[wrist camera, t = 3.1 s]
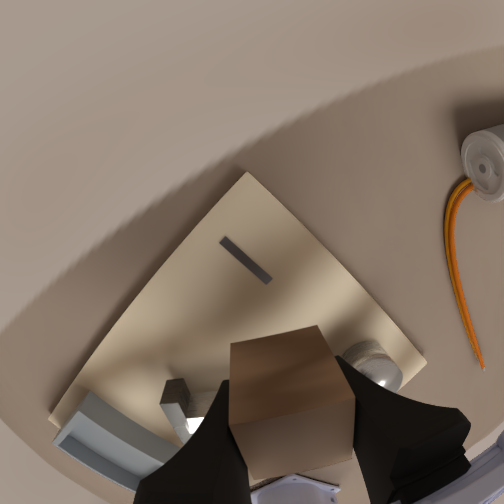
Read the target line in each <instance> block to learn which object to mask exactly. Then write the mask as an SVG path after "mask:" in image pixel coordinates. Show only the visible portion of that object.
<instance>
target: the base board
mask: <svg viewBox="0 0 504 504" xmlns="http://www.w3.org/2000/svg"><path fill="white" fill-rule="evenodd" d="M314 325H318V327H319V329H320V331H321V333H322V335H323V336H324V338H325V340H326V342H327V344H328V346H329V348H330V350H331V351H332V353H333V355H334V356H337V355H339V356H342V355H343V354H344V353H345V351H346V350H348V349H349V348H350V347H352V346H353V345H355V344H357V343H359V342H363V341H375V342H377V343H379V344H380V345H381V346H382V347H383V348H384V350H385V351H386V352H387V353H388V355H389V356H390V357H391V358H392V360H393V361H394V362H395V363H396V365H397V366H398V367H399V368H400V370H401V371H402V374H403V380H402V384H401V386H400V388H399V389H401V388H402V387H403V386H404V385H405V384H406V383H407V382H408V381H409V380H410V379H411V378H412V377H414V376H415V375H416V374H417V373H418V372H419V371H420V370H421V369H422V368H423V367H424V366H425V365H426V364H427V362H426V360H425V359H424V358H423V357H422V355H421V354H420V353H419V352H418V351H417V349H416V348H415V347H414V346H413V344H412V343H411V342H410V341H409V340H408V339H407V337H406V336H405V335H404V334H403V333H402V331H401V330H400V329H399V328H398V327H397V326H396V324H395V323H394V322H393V321H392V320H391V319H390V318H389V316H388V315H387V314H386V313H385V312H384V311H383V310H382V308H381V307H380V306H379V305H378V304H377V303H376V302H375V301H374V299H373V298H372V297H371V296H370V295H369V294H368V293H367V292H366V291H365V289H364V288H363V287H362V286H361V285H360V284H359V283H358V282H357V281H356V280H355V279H354V278H353V276H352V275H351V274H350V273H349V272H348V271H347V270H346V269H345V268H344V267H343V266H342V265H341V264H340V263H339V261H338V260H337V259H336V258H335V257H334V256H333V255H332V254H331V253H330V252H329V251H328V250H327V249H326V248H325V247H324V246H323V245H322V244H321V243H320V242H319V241H318V240H317V239H316V238H315V237H314V236H313V235H312V234H311V233H310V232H309V231H308V230H307V229H306V228H305V227H304V226H303V225H302V223H300V222H299V221H298V220H297V219H296V218H295V217H294V216H293V215H292V214H291V213H290V212H289V211H288V210H287V209H286V208H285V207H284V206H283V205H282V204H281V203H280V202H279V201H278V200H277V199H276V198H275V197H274V196H273V195H272V194H271V193H270V192H269V191H268V190H267V189H266V188H265V187H263V186H262V185H261V184H260V183H259V182H258V181H257V180H256V179H255V178H254V177H253V176H252V175H251V174H250V173H249V172H246V173H245V174H244V175H243V176H242V177H241V178H240V179H239V180H238V181H237V182H236V183H235V184H234V185H233V186H232V188H231V189H230V190H229V191H228V192H227V193H226V194H225V195H224V196H223V197H222V198H221V199H220V200H219V201H218V203H217V204H216V205H215V206H214V207H213V208H212V209H211V210H210V211H209V212H208V214H207V215H206V216H205V217H204V218H203V219H202V220H201V221H200V222H199V224H198V225H197V226H196V227H195V228H194V229H193V230H192V231H191V233H190V234H189V235H188V236H187V237H186V238H185V239H184V241H183V242H182V243H181V244H180V245H179V246H178V247H177V249H176V250H175V251H174V252H173V253H172V254H171V256H170V257H169V258H168V259H167V260H166V262H165V263H164V264H163V265H162V266H161V267H160V269H159V270H158V271H157V272H156V273H155V275H154V276H153V277H152V278H151V279H150V281H149V282H148V283H147V284H146V286H145V287H144V288H143V289H142V291H141V292H140V293H139V294H138V295H137V297H136V298H135V299H134V300H133V302H132V303H131V304H130V306H129V307H128V308H127V309H126V311H125V312H124V313H123V314H122V316H121V317H120V318H119V320H118V321H117V322H116V323H115V325H114V326H113V327H112V329H111V330H110V331H109V333H108V334H107V335H106V337H105V338H104V339H103V341H102V342H101V343H100V345H99V346H98V347H97V349H96V350H95V351H94V353H93V354H92V356H91V357H90V358H89V360H88V361H87V362H86V364H85V365H84V367H83V368H82V370H81V371H80V372H79V374H78V375H77V377H76V378H75V379H74V381H73V382H72V384H71V385H70V387H69V388H68V390H67V391H66V393H65V394H64V396H63V397H62V399H61V400H60V402H59V403H58V405H57V406H56V408H55V409H54V411H53V412H52V414H51V415H50V417H49V418H48V420H49V421H51V422H52V423H53V424H55V425H56V426H57V427H58V428H61V426H62V425H63V424H64V422H65V421H66V420H67V419H68V417H69V416H70V415H71V414H72V412H73V411H74V410H75V409H76V407H77V406H78V405H79V404H80V402H81V401H82V400H83V399H84V397H85V396H86V395H87V394H88V393H89V391H92V392H93V393H94V394H96V395H97V396H98V397H100V398H101V399H102V400H104V401H105V402H106V403H108V404H109V405H111V406H112V407H113V408H115V409H116V410H118V411H119V412H121V413H122V414H124V415H125V416H127V417H128V418H130V419H131V420H133V421H134V422H136V423H138V424H139V425H141V426H142V427H144V428H146V429H147V430H149V431H151V432H152V433H154V434H156V435H158V436H159V437H161V438H163V439H165V440H166V441H168V442H170V443H172V444H174V445H176V446H178V447H180V448H182V447H183V446H184V445H183V443H182V442H181V440H180V439H179V437H178V435H177V434H176V432H175V431H174V429H173V427H172V426H171V424H170V422H169V420H168V419H167V417H166V415H165V414H164V412H163V410H162V408H161V406H160V405H159V403H160V400H161V397H162V393H163V390H164V387H165V383H166V380H170V379H180V378H184V380H185V382H186V385H187V387H188V389H189V391H190V394H194V393H203V392H211V391H218V390H219V387H220V385H221V382H222V381H223V380H228V379H229V377H230V343H234V342H240V341H245V340H250V339H255V338H260V337H265V336H270V335H275V334H279V333H284V332H288V331H293V330H297V329H302V328H306V327H310V326H314ZM248 476H249V485H250V486H252V485H254V484H257V483H259V482H261V481H263V480H265V479H259V480H254V479H253V477H252V475H251V473H250V471H249V469H248ZM266 479H267V478H266Z"/></svg>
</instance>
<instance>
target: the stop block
mask: <svg viewBox="0 0 504 504" xmlns="http://www.w3.org/2000/svg"><path fill="white" fill-rule="evenodd" d="M354 420H355V395H354V393H353V391H352V389H351V387H350V386H349V384H348V382H347V380H346V378H345V376H344V374H343V372H342V370H341V368H340V366H339V365H338V363H337V361H336V359H335V357H334V355H333V353H332V351H331V350H330V348H329V346H328V344H327V342H326V340H325V338H324V336H323V335H322V333H321V331H320V329H319V327H318V325H314V326H310V327H306V328H302V329H297V330H293V331H288V332H284V333H279V334H275V335H270V336H265V337H260V338H255V339H250V340H245V341H240V342H234V343H230V377H229V427H230V429H231V432H232V434H233V436H234V438H235V441H236V443H237V445H238V447H239V450H240V452H241V454H242V456H243V458H244V461H245V463H246V465H247V467H248V469H249V471H250V473H251V475H252V477H253V479H254V480H259V479H266V478H273V477H279V476H285V475H290V474H295V473H300V472H304V471H309V470H313V469H317V468H321V467H325V466H329V465H332V464H336V463H339V462H343V461H346V460H349V459H352V449H353V437H354Z"/></svg>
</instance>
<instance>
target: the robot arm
mask: <svg viewBox="0 0 504 504" xmlns="http://www.w3.org/2000/svg"><path fill="white" fill-rule="evenodd" d="M334 357H335V359H336V361H337V363H338V365H339V366H340V368H341V370H342V372H343V374H344V376H345V378H346V380H347V382H348V384H349V386H350V387H351V389H352V391H353V393H354V395H355V420H354V437H353V448H354V451H355V453H356V456H357V459H358V462H359V465H360V468H361V471H362V475H363V478H364V481H365V484H366V488H367V491H368V495H369V499H370V502H371V504H490V503H491V502H492V501H494V500H495V499H496V498H498V497H499V496H500V495H501V494H502V493H503V492H504V431H503V432H502V433H501V434H500V436H499V437H498V439H497V441H496V443H494V444H493V445H492V446H490V447H489V448H488V449H486V450H485V451H484V452H482V453H481V454H480V455H478V456H477V457H475V458H474V459H472V460H471V461H470V462H469V461H468V460H467V458H466V457H465V455H464V454H465V452H466V451H465V449H464V447H463V446H462V445H463V443H464V441H465V439H466V437H467V435H468V433H469V431H470V428H471V423H470V422H469V420H468V419H467V418H466V417H465V415H464V414H463V413H462V412H461V411H460V410H459V409H458V408H449V407H440V406H435V405H430V404H425V403H422V402H418V401H415V400H412V399H409V398H406V397H403V396H401V395H398V394H396V393H394V392H392V391H390V390H388V389H386V388H384V387H382V386H381V385H379V384H377V383H375V382H374V381H372V380H371V379H369V378H368V377H366V376H365V375H363V374H362V373H361V372H359V371H358V370H357V369H355V368H354V367H353V366H351V365H350V364H349V363H348V362H347V361H345V360H344V359H343V358H342V357H341V356H339V355H337V356H334ZM340 490H341V488H340V487H338V486H334V485H330V484H326V483H322V482H319V481H315V480H312V479H308V478H305V477H302V476H299V475H296V474H290V475H287V476H285V477H283V478H281V479H279V480H277V481H275V482H273V483H271V484H269V485H266V486H264V487H262V488H260V489H258V490H255V491H253V492H251V493H250V485H249V476H248V467H247V465H246V463H245V461H244V458H243V456H242V454H241V452H240V450H239V447H238V445H237V443H236V441H235V438H234V436H233V434H232V432H231V429H230V427H229V379H228V380H223V381H222V382H221V385H220V387H219V390H218V392H217V394H216V396H215V398H214V400H213V402H212V404H211V406H210V408H209V410H208V412H207V414H206V415H205V417H204V418H203V420H202V422H201V423H200V425H199V426H198V428H197V429H196V431H195V432H194V433H193V435H192V436H191V437H190V439H189V440H188V441H187V442H186V443H185V444H184V446H183V447H182V448H181V449H180V450H179V451H178V452H177V453H176V454H175V455H174V456H173V457H172V458H171V459H169V460H168V461H167V462H166V463H165V464H164V465H162V466H161V467H160V468H158V469H157V470H156V471H154V472H153V473H151V474H150V475H148V476H147V477H145V478H144V479H142V480H140V482H139V485H138V487H137V490H136V494H135V498H134V502H133V504H252V503H253V504H338V501H337V498H336V494H335V493H336V492H338V491H340Z"/></svg>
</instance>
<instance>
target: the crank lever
mask: <svg viewBox="0 0 504 504" xmlns="http://www.w3.org/2000/svg"><path fill="white" fill-rule="evenodd" d="M341 357H342V358H343V359H344V360H345V361H347V362H348V363H349V364H350V365H351V366H353V367H354V368H355V369H357V370H358V371H359V372H361V373H362V374H363V375H365V376H366V377H368V378H369V379H371V380H372V381H374V382H375V383H377V384H379V385H381V386H382V387H384V388H386V389H388V390H390V391H392V392H394V393H396V392H397V391H398V390H399V388H400V386H401V384H402V380H403V374H402V371H401V370H400V368H399V367H398V366H397V365H396V363H395V362H394V361H393V360H392V358H391V357H390V356H389V355H388V353H387V352H386V351H385V350H384V348H383V347H382V346H381V345H380V344H379V343H377V342H375V341H363V342H359V343H357V344H355V345H353V346H352V347H350V348H349V349H348V350H346V351H345V353H344V354H343V355H342V356H341ZM217 392H218V391H211V392H203V393H194V394H190V391H189V389H188V387H187V385H186V382H185V380H184V378H180V379H170V380H166V383H165V387H164V390H163V393H162V397H161V400H160V403H159V405H160V406H161V408H162V410H163V412H164V414H165V415H166V417H167V419H168V420H169V422H170V424H171V426H172V427H173V429H174V431H175V432H176V434H177V435H178V437H179V439H180V440H181V442H182V443H183V445H184V444H185V443H186V442H187V441H188V440H189V439H190V437H191V436H192V435H193V433H194V432H195V431H196V429H197V428H198V426H199V425H200V423H201V422H202V420H203V418H204V417H205V415H206V414H207V412H208V410H209V408H210V406H211V404H212V402H213V400H214V398H215V396H216V394H217Z"/></svg>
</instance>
